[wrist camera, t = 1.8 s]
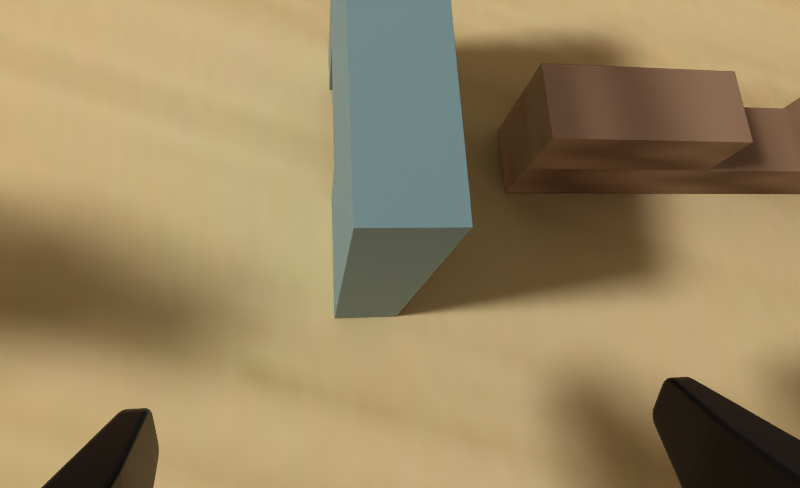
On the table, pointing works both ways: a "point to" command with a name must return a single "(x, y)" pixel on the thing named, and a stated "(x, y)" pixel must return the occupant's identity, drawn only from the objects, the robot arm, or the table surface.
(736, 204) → the table surface
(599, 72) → the walnut slotted rail
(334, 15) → the teal slotted plate
